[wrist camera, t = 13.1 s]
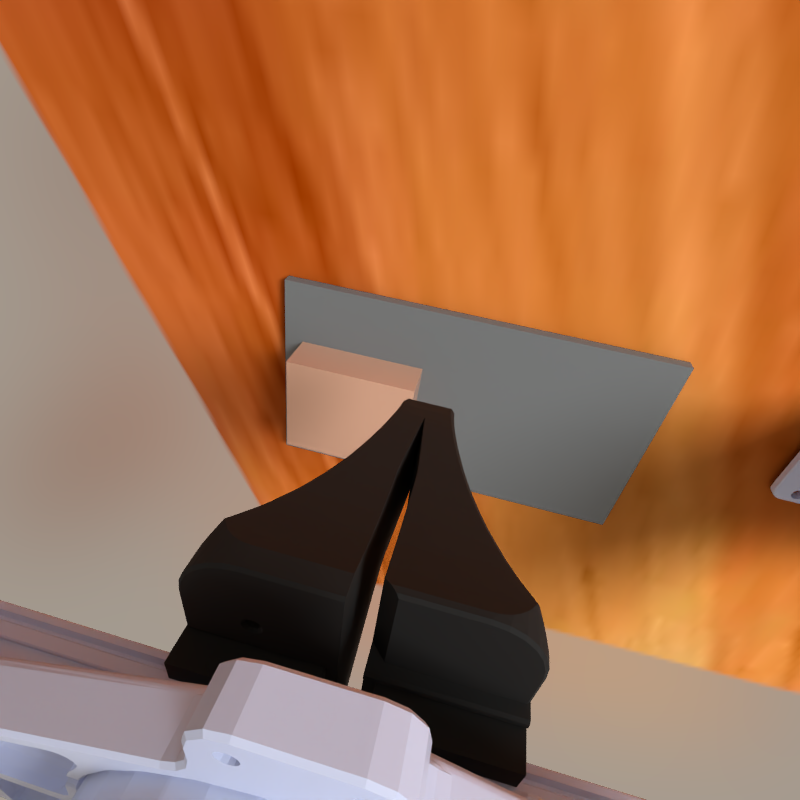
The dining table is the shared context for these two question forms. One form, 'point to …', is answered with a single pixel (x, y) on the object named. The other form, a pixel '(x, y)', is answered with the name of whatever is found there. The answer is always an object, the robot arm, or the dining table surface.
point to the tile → (342, 397)
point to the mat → (508, 393)
